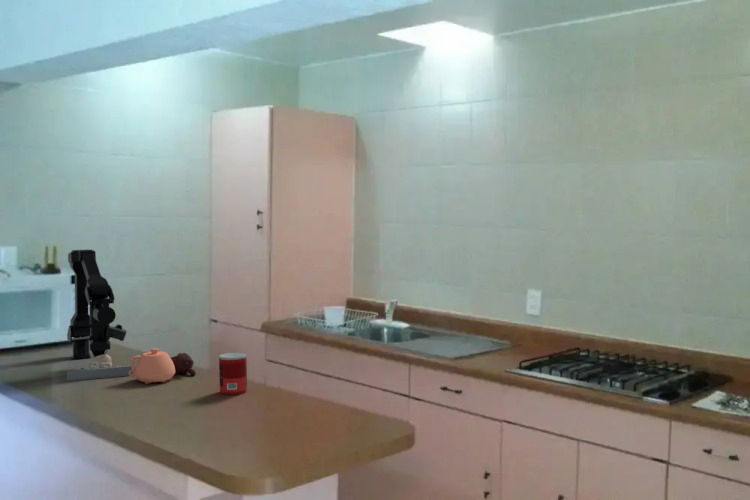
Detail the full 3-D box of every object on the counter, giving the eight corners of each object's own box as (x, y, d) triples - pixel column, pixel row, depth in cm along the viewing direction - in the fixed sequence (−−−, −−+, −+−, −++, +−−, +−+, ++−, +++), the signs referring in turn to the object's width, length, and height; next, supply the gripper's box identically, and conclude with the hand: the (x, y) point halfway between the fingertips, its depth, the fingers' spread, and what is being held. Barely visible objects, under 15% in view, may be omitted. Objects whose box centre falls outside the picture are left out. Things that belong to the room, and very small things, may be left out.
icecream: (158, 352, 242) (181, 363, 232) (178, 344, 247) (201, 354, 236) (162, 371, 244) (185, 383, 234) (182, 362, 249) (205, 373, 238)
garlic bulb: (95, 377, 235) (94, 352, 235) (86, 374, 240) (86, 350, 239) (114, 373, 240) (114, 349, 239) (106, 370, 244) (105, 347, 244)
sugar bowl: (176, 383, 227) (176, 350, 226) (129, 387, 222) (128, 354, 222) (174, 374, 238) (173, 343, 238) (128, 378, 234) (128, 346, 233)
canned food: (252, 391, 216) (251, 354, 215) (230, 396, 210) (229, 359, 209) (236, 387, 221) (236, 351, 221) (214, 392, 215) (213, 355, 215)
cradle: (67, 376, 236) (67, 367, 236) (132, 371, 244) (132, 362, 243) (67, 381, 231) (67, 371, 230) (133, 375, 238) (133, 366, 238)
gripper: (126, 323, 237) (127, 370, 238) (123, 314, 254) (124, 358, 256) (89, 325, 233) (90, 373, 234) (88, 316, 250) (90, 361, 252)
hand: (100, 366), depth 244 cm, fingers closed
